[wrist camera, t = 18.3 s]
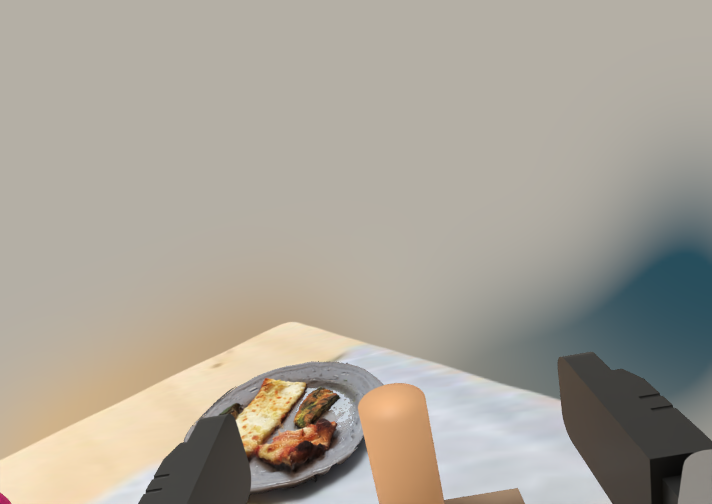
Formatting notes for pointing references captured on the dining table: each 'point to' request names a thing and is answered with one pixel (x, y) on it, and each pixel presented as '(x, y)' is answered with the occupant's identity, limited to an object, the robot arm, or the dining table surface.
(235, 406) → the food plate
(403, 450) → the peg
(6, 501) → the pepper mill
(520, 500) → the keyhole base
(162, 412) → the dining table surface
